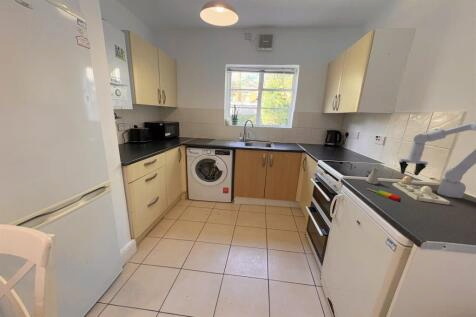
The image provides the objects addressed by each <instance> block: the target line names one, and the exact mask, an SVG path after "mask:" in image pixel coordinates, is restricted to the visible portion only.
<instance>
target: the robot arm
mask: <svg viewBox="0 0 476 317" xmlns="http://www.w3.org/2000/svg"><path fill="white" fill-rule="evenodd" d="M467 131H475V132H476V122H470V123H469V122H468V123H466V124H462V125H458V126H454V127H451V128H448V129H443V128H435V129H434V130H430V131H427V132H426V131H424V132H423V133H419V134H417V135H415V136H414V138H413V142H412V145H411V148H410V151H409V154H408V157H407V158H399V159H398V164H399V167H400V173H401V174H402V175H403V174H405V172H406V169H407V168H408V166H409V164H414V165H415V169H414V172H413V175H415V176H418V175H419V174H420V173H421V172H422V171H423V170H424V169H425V168H426V167H427V166H428V163H429V161H426V160H421V159H422V156H423V153H424V150H425V145H426V143H427V142H429V143H431V142H434V141H437V140H442V139H446V137H447V136H449V135H450V136H451V135H453V134H458V133H462V132H467ZM475 164H476V148H474V149H473V150H472V151H471V152H470V153H469V154H467V156H465V157H464V158H463V159H462V160H461V161H460V162H459V163H458V164H456V165H454V167H452V168H449V169H447V170H446V171H445V173H444V177H442V178H441V181H440V183H439V186H438V189H437V191H436V193H437V194H439V195H441V196H444V197H449V198H458V199H462V198H463V197H464V195H465V192H466V188H467V186H466V184H465V183H463V182H462V179H463V176H464V175H465V174H466V173H467V172H468V171H469V170H470V169H471V168H472V167H473V166H474V165H475Z"/></svg>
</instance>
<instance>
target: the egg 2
mask: <svg viewBox="0 0 476 317" xmlns="http://www.w3.org/2000/svg"><path fill="white" fill-rule="evenodd" d="M421 187H422V188H421V190H420V192H421V193H423V194H430V195H431V192H432V193H433V189H432V187H430V186H428V185H424V186H421Z"/></svg>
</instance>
